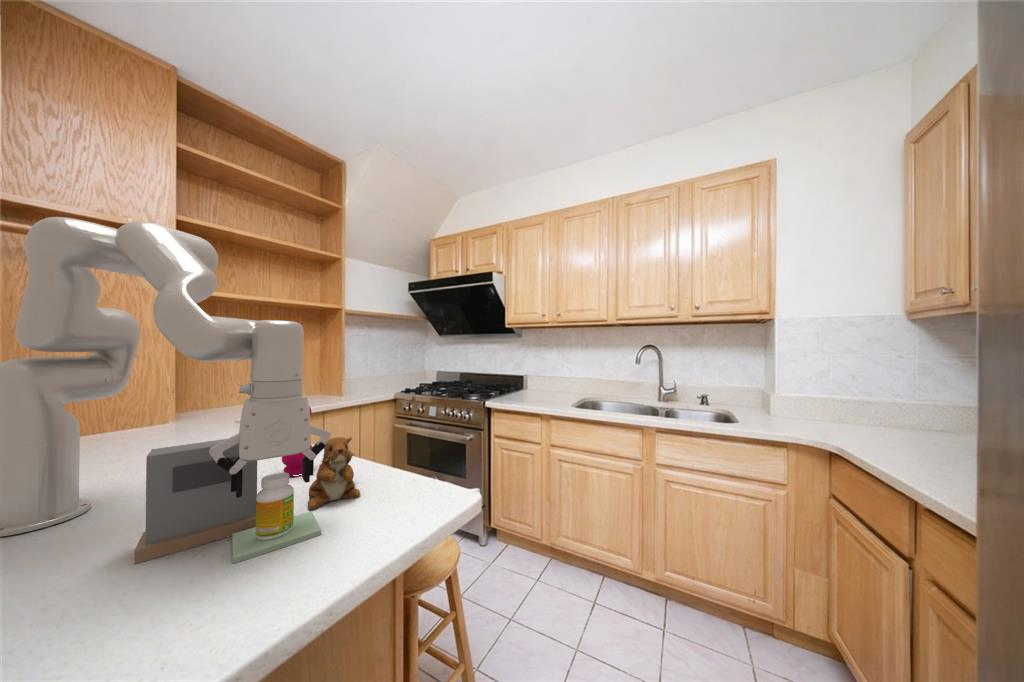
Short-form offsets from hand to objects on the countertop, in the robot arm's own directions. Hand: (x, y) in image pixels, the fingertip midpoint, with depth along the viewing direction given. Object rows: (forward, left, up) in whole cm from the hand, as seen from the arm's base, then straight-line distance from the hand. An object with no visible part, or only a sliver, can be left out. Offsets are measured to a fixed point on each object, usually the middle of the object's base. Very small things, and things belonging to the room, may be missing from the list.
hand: (274, 487), depth 58 cm
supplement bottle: (0, 0, -8) cm, 8 cm away
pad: (0, 0, -9) cm, 9 cm away
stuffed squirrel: (+12, +12, -9) cm, 19 cm away
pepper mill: (+8, +32, -9) cm, 34 cm away
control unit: (-9, +9, -9) cm, 15 cm away
